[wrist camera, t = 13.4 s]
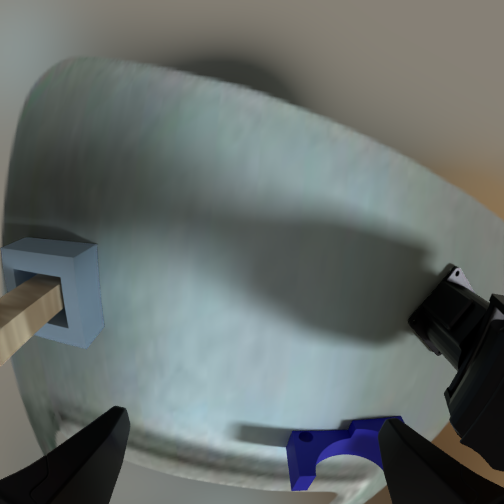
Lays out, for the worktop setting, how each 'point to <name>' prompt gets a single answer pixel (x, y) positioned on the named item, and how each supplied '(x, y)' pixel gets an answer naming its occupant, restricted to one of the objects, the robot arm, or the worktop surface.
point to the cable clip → (331, 448)
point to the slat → (27, 311)
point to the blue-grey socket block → (73, 284)
